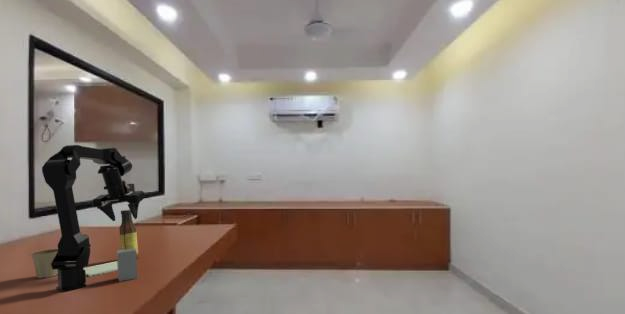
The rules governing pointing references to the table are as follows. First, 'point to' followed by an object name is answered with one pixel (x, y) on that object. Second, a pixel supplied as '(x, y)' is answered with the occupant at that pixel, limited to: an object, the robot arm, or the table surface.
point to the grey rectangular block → (127, 264)
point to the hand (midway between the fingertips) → (125, 219)
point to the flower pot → (44, 263)
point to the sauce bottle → (128, 232)
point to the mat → (101, 268)
